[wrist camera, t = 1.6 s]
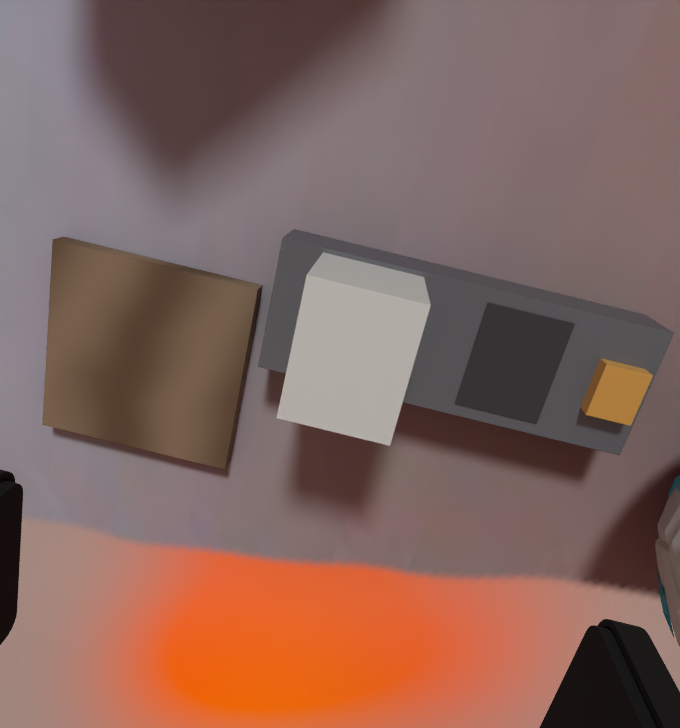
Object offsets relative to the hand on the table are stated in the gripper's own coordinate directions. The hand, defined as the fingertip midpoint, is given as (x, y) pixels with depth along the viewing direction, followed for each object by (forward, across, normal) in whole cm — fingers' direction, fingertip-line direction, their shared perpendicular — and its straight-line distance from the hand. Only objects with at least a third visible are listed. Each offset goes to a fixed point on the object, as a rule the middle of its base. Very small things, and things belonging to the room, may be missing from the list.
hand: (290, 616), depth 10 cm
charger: (+20, 0, 0) cm, 20 cm away
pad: (+20, +10, +5) cm, 23 cm away
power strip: (+20, -5, 0) cm, 21 cm away
